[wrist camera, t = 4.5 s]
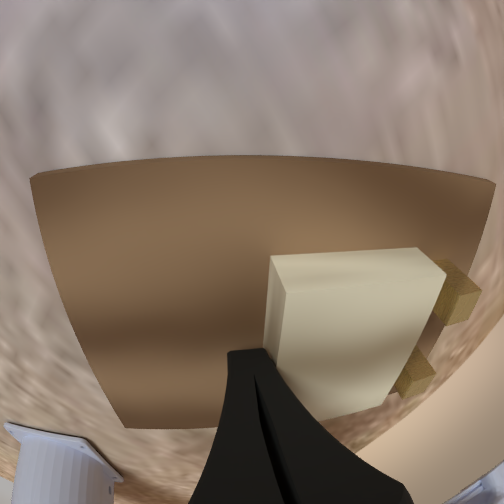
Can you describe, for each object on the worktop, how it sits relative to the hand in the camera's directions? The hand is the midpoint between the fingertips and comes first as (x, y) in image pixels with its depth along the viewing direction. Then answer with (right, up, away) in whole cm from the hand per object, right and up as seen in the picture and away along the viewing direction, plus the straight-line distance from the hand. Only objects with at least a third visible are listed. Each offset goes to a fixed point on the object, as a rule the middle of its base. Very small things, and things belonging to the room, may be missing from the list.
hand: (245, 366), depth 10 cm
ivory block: (+4, +1, +2) cm, 4 cm away
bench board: (+2, +1, +2) cm, 3 cm away
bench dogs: (+8, +1, +2) cm, 8 cm away
